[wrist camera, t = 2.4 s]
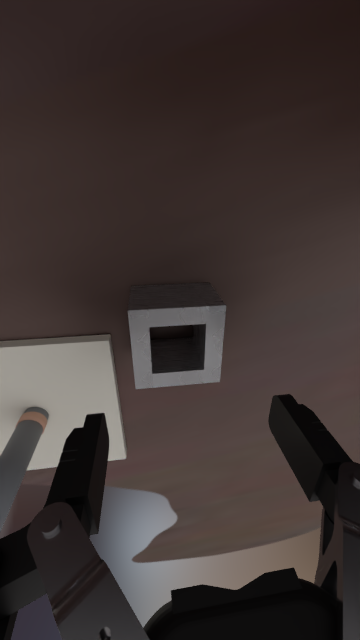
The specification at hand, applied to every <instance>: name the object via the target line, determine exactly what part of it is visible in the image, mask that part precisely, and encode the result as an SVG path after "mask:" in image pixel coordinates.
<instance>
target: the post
mask: <svg viewBox="0 0 360 640" xmlns="http://www.w3.org/2000/svg"><path fill="white" fill-rule="evenodd" d="M95 413H105V417H106V423H107V428H108V434H109V454H108V461H112V460H121V459H126V455H127V448H126V441H125V434H124V427H123V420H122V413H121V406H120V398H119V391H118V384H117V377H116V370H115V363H114V356H113V349H112V342H111V335H110V334H107V335H91V336H75V337H59V338H43V339H27V340H12V341H0V531H1V529H2V527H3V524H4V522H5V520H6V517H7V515H8V513H9V510H10V508H11V505H12V503H13V501H14V498H15V496H16V494H17V491H18V489H19V487H20V484H21V482H22V479H23V477H24V475H25V472H26V470H34V469H43V468H52V467H57V466H58V463H59V460H60V457H61V453H62V450H63V447H64V444H65V441H66V438H67V437H68V436H69V434H70V433H71V432H72V430H73V429H74V428H81V427H83V426H84V422H85V418H86V415H87V414H95Z"/></svg>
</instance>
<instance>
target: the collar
mask: <svg viewBox="0 0 360 640" xmlns="http://www.w3.org/2000/svg"><path fill="white" fill-rule="evenodd" d="M225 313H226V304H225V303H224V302H223V300H222V299H221V298H220V296H219V295H218V293H217V292H216V291H215V289H214V288H213V287H212V285H211V284H210V283H189V284H166V285H142V286H131V290H130V297H129V304H128V319H129V329H130V338H131V348H132V358H133V367H134V377H135V387H136V389H143V388H155V387H166V386H178V385H189V384H201V383H212V382H220V373H221V361H222V349H223V337H224V325H225ZM178 325H193V337H190V338H175V339H160V340H151V338H150V327H162V326H178Z"/></svg>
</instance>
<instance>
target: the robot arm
mask: <svg viewBox="0 0 360 640" xmlns="http://www.w3.org/2000/svg"><path fill="white" fill-rule="evenodd" d="M269 427H270V430H271V432H272V434H273V436H274V438H275V439H276V441H277V443H278V445H279V447H280V449H281V450H282V452H283V454H284V456H285V458H286V460H287V461H288V463H289V465H290V467H291V469H292V470H293V472H294V474H295V476H296V478H297V480H298V481H299V483H300V485H301V487H302V489H303V491H304V492H305V494H306V496H307V498H308V500H309V501H310V502H312V501H318V500H320V502H321V504H322V505H323V509H322V519H321V535H320V551H319V561H318V567H317V571H316V576H315V582H314V584H313V583H311V582H309V581H306V580H303V579H299V578H298V576H297V574H296V572H295V569H294V568H289V569H283V570H278V571H273V572H268V573H264V574H263V575H261V576H259V577H258V578H256V579H255V580H253V581H251V582H250V583H248V584H247V585H245V586H243V587H242V588H240V589H238V590H231V589H225V588H220V587H213V586H208V585H197V586H192V587H187V588H181V589H176V590H172V591H171V595H172V596H171V597H172V600H171V601H170V602H168V603H167V604H165V605H164V606H162V607H161V608H160V609H159V610H158V611H157V612H156V613H155V614H154V615H153V616H152V617H151V618H150V620H149V621H148V622H147V624H146V625H145V626H144V628H143V627H142V625H141V624H140V622H139V620H138V619H137V617H136V615H135V613H134V612H133V610H132V608H131V606H130V604H129V603H128V601H127V599H126V597H125V596H124V594H123V592H122V590H121V589H120V587H119V585H118V583H117V582H116V580H115V578H114V576H113V575H112V573H111V571H110V569H109V568H108V566H107V564H106V563H105V562H104V560H102V559H101V558H100V557H99V555H98V553H97V551H96V550H95V548H94V546H93V544H92V542H91V541H90V539H89V537H90V535H93V534H98V531H99V523H100V515H101V507H102V500H103V492H104V485H105V477H106V469H107V462H108V454H109V434H108V428H107V423H106V417H105V413H95V414H87V415H86V418H85V422H84V426H83V427H81V428H74V429H73V430H72V432H71V433H70V434H69V436H68V437H67V438H66V441H65V444H64V447H63V450H62V453H61V457H60V460H59V463H58V466H57V469H56V473H55V476H54V479H53V482H52V485H51V489H50V492H49V495H48V498H47V501H46V504H45V506H44V508H43V509H42V510H41V511H40V512H39V513H38V514H37V515H36V516H35V518H34V519H33V520H32V522H31V523H30V524H28V525H27V526H25V527H24V528H22V529H21V530H18V531H16V532H14V533H12V534H10V535H8V536H6V537H4V538H1V539H0V640H11V636H12V632H13V628H14V624H15V621H16V617H17V613H18V610H19V609H21V608H23V607H24V606H26V605H28V604H29V603H31V602H33V601H35V600H36V599H38V598H40V597H41V596H43V595H45V594H46V593H47V595H48V598H49V601H50V603H51V606H52V612H53V615H54V618H55V621H56V624H57V626H58V629H59V632H60V635H61V637H62V640H360V464H358V463H355V462H353V461H352V460H351V459H350V458H349V456H348V455H347V454H346V452H345V451H344V450H343V449H342V447H341V446H340V445H339V444H338V442H337V441H336V440H335V439H334V437H333V436H332V435H331V434H330V432H329V431H327V429H326V427H325V426H324V425H323V423H321V422H320V420H319V418H318V417H317V416H316V415H315V413H314V412H313V411H312V410H310V409H309V408H307V407H306V406H305V405H303V404H298V403H297V402H296V400H295V399H294V398H293V396H292V395H290V394H285V395H276V396H273V399H272V404H271V409H270V414H269Z"/></svg>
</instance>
